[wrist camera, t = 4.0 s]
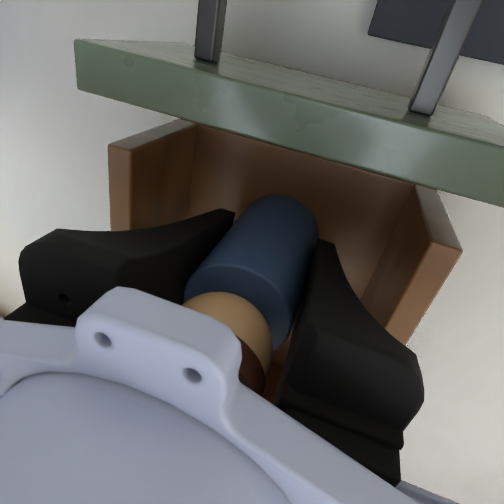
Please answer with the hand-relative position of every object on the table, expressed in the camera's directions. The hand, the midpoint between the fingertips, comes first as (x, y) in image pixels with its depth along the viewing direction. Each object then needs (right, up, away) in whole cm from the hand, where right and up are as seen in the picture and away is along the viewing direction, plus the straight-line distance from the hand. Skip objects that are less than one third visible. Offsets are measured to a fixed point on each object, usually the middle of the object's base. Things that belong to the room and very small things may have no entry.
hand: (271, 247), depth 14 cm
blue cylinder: (0, +1, +1) cm, 1 cm away
